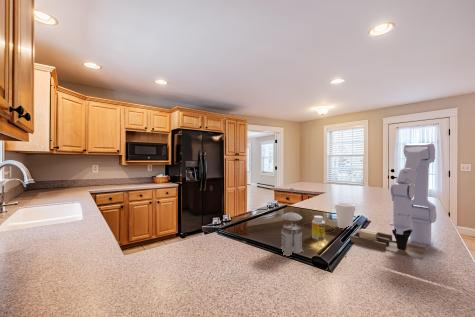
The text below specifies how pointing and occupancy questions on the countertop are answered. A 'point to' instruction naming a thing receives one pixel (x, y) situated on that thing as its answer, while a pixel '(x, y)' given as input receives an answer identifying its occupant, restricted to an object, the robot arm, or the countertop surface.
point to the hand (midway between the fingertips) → (402, 248)
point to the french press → (291, 234)
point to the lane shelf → (388, 245)
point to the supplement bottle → (318, 228)
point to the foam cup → (344, 214)
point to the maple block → (373, 236)
